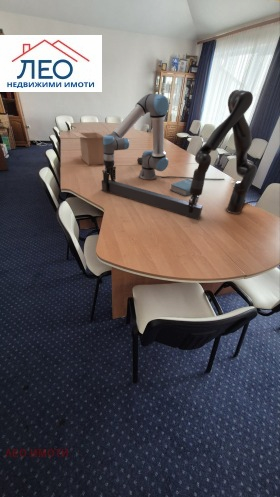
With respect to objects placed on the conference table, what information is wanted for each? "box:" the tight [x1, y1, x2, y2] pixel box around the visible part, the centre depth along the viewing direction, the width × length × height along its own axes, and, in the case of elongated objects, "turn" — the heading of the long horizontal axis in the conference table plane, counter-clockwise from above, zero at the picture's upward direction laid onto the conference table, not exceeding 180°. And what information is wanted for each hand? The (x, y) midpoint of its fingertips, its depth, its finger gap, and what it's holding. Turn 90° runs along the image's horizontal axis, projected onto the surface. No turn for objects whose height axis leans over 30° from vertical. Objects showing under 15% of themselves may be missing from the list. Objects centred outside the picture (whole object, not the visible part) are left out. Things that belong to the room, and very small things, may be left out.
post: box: [101, 179, 204, 220], centre depth 159 cm, size 79×5×8 cm, turn 60°
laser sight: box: [136, 154, 143, 165], centre depth 236 cm, size 10×22×10 cm, turn 78°
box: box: [70, 129, 109, 166], centre depth 229 cm, size 44×36×27 cm
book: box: [170, 178, 192, 197], centre depth 184 cm, size 23×16×5 cm
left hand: (110, 190), depth 174 cm, fingers closed on post, 5 cm apart
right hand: (191, 210), depth 147 cm, fingers closed on post, 5 cm apart
